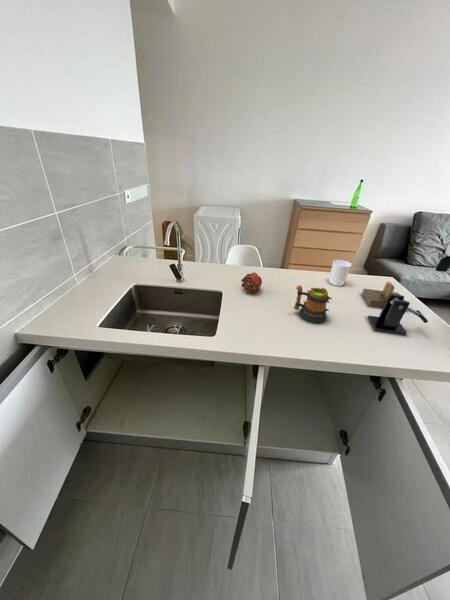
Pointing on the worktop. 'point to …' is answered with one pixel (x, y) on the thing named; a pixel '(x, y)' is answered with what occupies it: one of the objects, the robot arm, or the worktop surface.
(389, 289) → the tall mustard panel
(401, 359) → the worktop surface
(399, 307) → the handle bracket
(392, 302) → the door lever
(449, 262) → the robot arm
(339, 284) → the white cup
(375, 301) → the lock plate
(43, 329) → the worktop surface
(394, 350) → the worktop surface
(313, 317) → the mug
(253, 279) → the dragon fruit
